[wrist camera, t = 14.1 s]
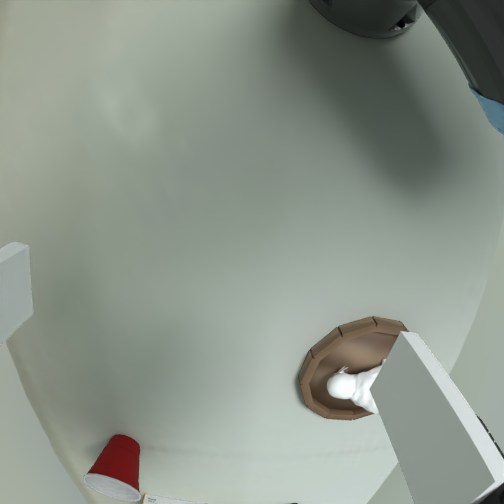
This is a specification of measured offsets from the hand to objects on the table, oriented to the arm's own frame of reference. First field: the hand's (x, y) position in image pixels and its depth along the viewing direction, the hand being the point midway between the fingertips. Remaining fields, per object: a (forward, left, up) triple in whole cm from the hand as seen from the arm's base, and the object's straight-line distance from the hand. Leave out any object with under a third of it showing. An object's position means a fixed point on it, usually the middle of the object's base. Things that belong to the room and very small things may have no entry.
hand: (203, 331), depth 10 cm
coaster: (+20, +24, -27) cm, 41 cm away
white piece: (+20, +24, -26) cm, 40 cm away
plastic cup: (+50, -10, -27) cm, 58 cm away
